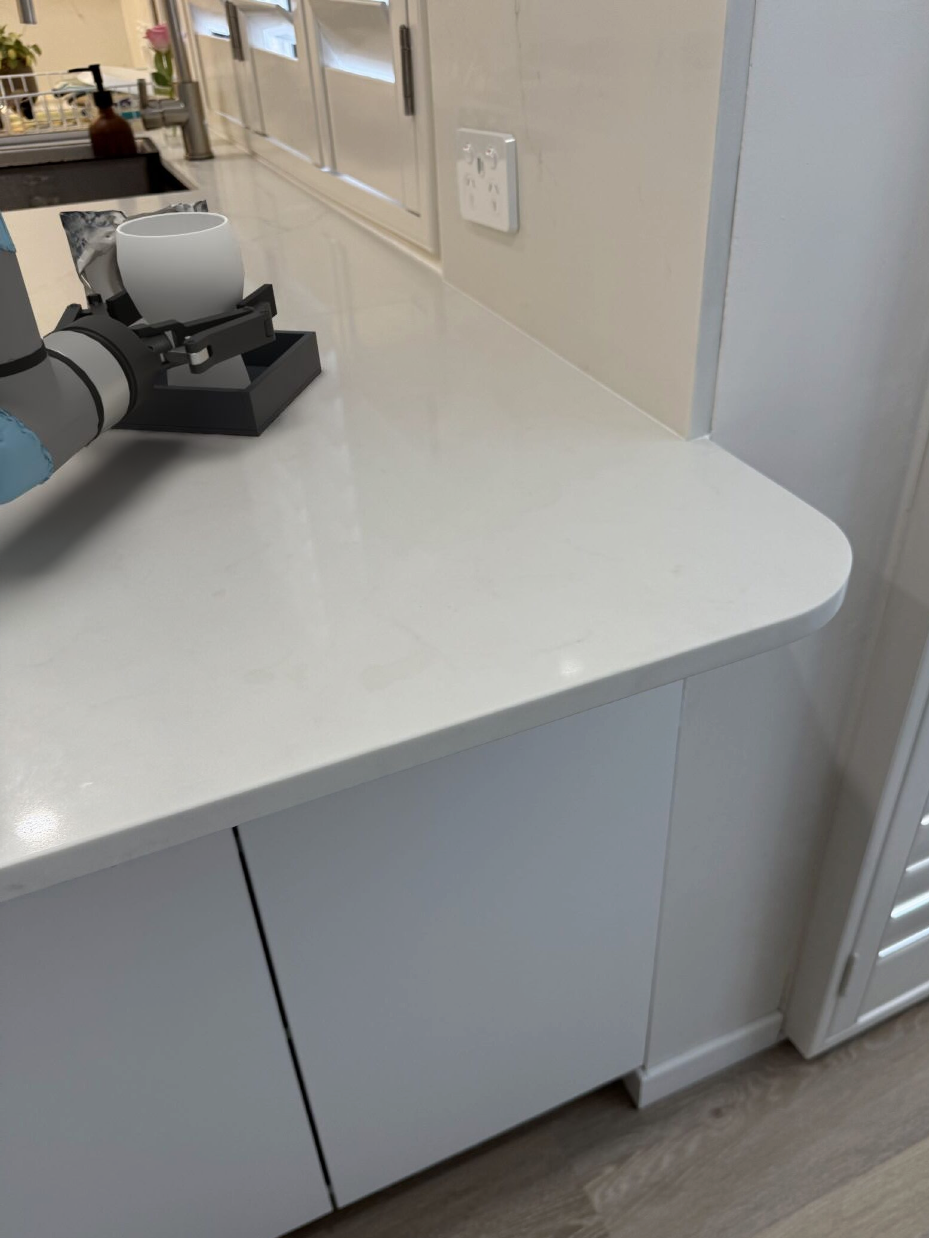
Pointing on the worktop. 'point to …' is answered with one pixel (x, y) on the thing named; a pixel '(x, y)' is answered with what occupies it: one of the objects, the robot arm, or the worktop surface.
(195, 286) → the cup
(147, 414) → the tray
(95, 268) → the meal
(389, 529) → the worktop surface
